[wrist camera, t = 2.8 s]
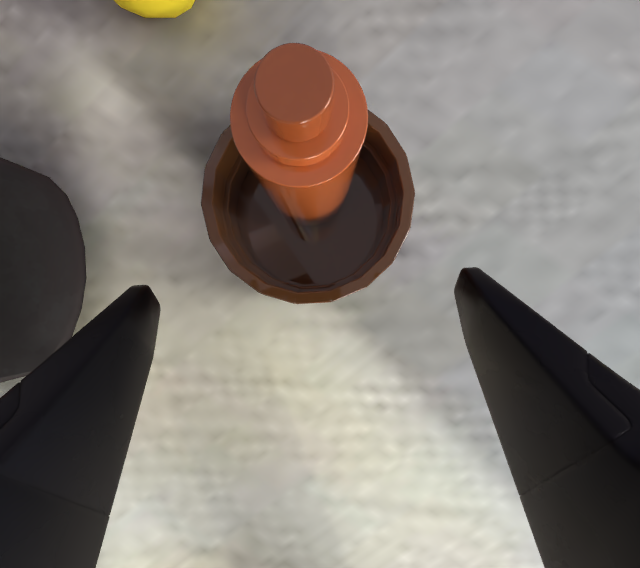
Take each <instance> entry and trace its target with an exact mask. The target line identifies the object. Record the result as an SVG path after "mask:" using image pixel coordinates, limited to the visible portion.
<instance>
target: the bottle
mask: <svg viewBox="0 0 640 568" xmlns="http://www.w3.org/2000/svg"><path fill="white" fill-rule="evenodd" d="M230 125H231V131H232V136H233V139H234V142H235V145H236V147H237V149H238V151H239V153H240V155H241V156H242V158H243V159H244V161H245V162H246V164H247V165H248V167H249V168H250V170H251V171H252V173H253V174H254V176H255V177H256V178H257V180H258V181H259V183H260V184H261V186H262V187H263V189H264V190H265V192H266V193H267V195H268V196H269V198H270V199H271V201H272V202H273V204H274V205H275V207H276V208H277V210H278V211H279V213H280V214H281V215H282V216H283V217H284V218H286V219H287V220H288V221H290V222H292V223H294V224H297V225H300V226H306V227H312V226H319V225H322V224H324V223H326V222H328V221H330V220H331V219H333V218H334V217H335V216H336V215H337V214H338V213H339V212H340V210H341V209H342V207H343V205H344V203H345V200H346V197H347V194H348V191H349V188H350V184H351V181H352V178H353V175H354V172H355V168H356V165H357V162H358V159H359V156H360V152H361V149H362V146H363V143H364V140H365V136H366V132H367V126H368V109H367V104H366V99H365V96H364V93H363V90H362V88H361V86H360V84H359V82H358V81H357V79H356V78H355V76H354V75H353V74H352V72H351V71H350V70H349V69H348V68H347V67H346V66H345V65H344V64H343V63H341V62H340V61H339V60H337V59H336V58H334V57H333V56H331V55H328V54H326V53H324V52H321V51H318V50H316V49H314V48H312V47H310V46H308V45H305V44H300V43H287V44H283V45H280V46H278V47H276V48H274V49H272V50H271V51H270V52H268V53H267V54H266V55H265V56H264V58H262V59H261V60H259V61H258V62H257V63H255V64H254V65H253V66H252V67H251V68H250V69H249V70H248V71H247V73H246V74H245V75H244V76H243V78H242V79H241V81H240V82H239V84H238V86H237V89H236V91H235V93H234V96H233V100H232V104H231V110H230Z"/></svg>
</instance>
